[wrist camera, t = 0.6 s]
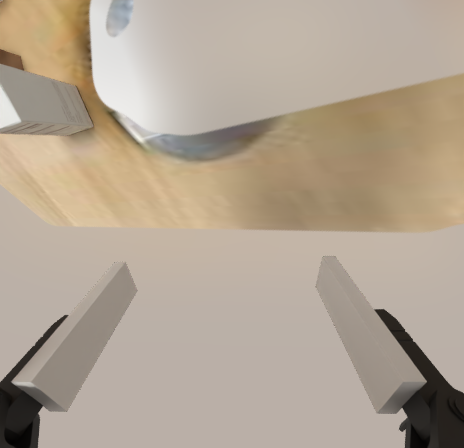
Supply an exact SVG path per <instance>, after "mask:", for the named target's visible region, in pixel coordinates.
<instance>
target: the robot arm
mask: <svg viewBox="0 0 464 448" xmlns="http://www.w3.org/2000/svg"><path fill="white" fill-rule="evenodd" d="M316 288H317V290H318V293H319V295H320V297H321V299H322V301H323V303H324V305H325V307H326V309H327V311H328V313H329V315H330V317H331V319H332V322H333V323H334V326H335V328H336V330H337V332H338V334H339V336H340V338H341V340H342V342H343V344H344V346H345V348H346V351H347V353H348V355H349V357H350V359H351V361H352V363H353V365H354V367H355V369H356V371H357V373H358V375H359V378H360V379H361V382H362V384H363V386H364V388H365V390H366V392H367V394H368V396H369V398H370V400H371V402H372V404H373V407H374V409H375V411H376V413H383V414H396V413H397V412H398V411H399V410H400V409H401V408H403V410H404V412H405V413H406V414H407V417H408V418H407V419H406V420H405V421H403V422H402V423H401V425H400V428H399V430H400V431H402V432H403V431H404V430H405V429H406V437H405V448H464V393H463V392H460V391H458V390H456V389H454V388H453V387H452V386H451V385H450V384H449V383H448V382H447V381H446V380H445V379H444V377H443V376H442V375H441V374H440V373H439V371H438V370H437V369H436V368H435V366H434V365H433V364H432V363H431V361H430V360H429V359H428V358H427V356H426V355H425V354H424V353H423V352H422V350H421V349H420V348H419V347H418V345H417V344H416V343H415V342H413V339H412V338H411V337H410V336H409V334H408V333H407V332H405V329H404V328H403V327H402V326H401V324H400V323H399V322H398V321H397V319H396V318H394V317H393V316H392V315H391V314H389V313H388V312H387V311H385V310H384V309H376V310H375V309H373V308H372V306H371V305H370V303H369V302H368V301H367V299H366V298H365V297H364V295H363V294H362V293H361V291H360V290H359V288H358V287H357V286H356V284H355V283H354V282H353V280H352V279H351V278H350V276H349V275H348V273H347V272H346V271H345V269H344V268H343V267H342V265H341V264H340V263H339V261H338V260H337V258H336V257H335V256H323V257H322V261H321V266H320V270H319V275H318V279H317V283H316ZM136 292H137V288H136V286H135V283H134V281H133V279H132V276H131V274H130V272H129V269H128V267H127V265H126V262H116V263H114V264H113V265H112V266H111V267H110V268H109V269H108V271H107V272H106V273H105V274H104V275H103V276H102V278H101V279H100V280H99V281H98V282H97V283H96V284H95V286H94V287H93V288H92V289H91V290H90V291H89V293H88V294H87V295H86V296H85V297H84V298H83V299H82V301H81V302H80V303H79V304H78V305H77V306H76V308H75V309H74V310H73V311H72V312H71V313H70V315H64V316H63V317H62V318H60V319H59V320H58V321H57V322H55V323H54V324H53V325H52V326H51V327H50V328H49V329H48V330H47V331H46V332H45V334H44V335H43V337H41V338H40V339H39V340H38V341H37V342H36V344H35V346H33V347H32V348H31V349H30V350H29V351H28V352H27V354H26V355H25V356H24V357H23V358H22V359H21V360H20V361H19V362H18V364H17V365H16V366H15V367H14V368H13V369H12V370H11V371H10V372H9V373H8V374H7V376H6V377H5V378H4V379H3V380H2V381H1V382H0V448H38V437H39V424H40V417H39V414H38V412H39V411H40V409H41V408H42V407H43V406H44V407H45V408H46V409H48V410H49V411H64V412H65V411H66V412H67V411H68V409H69V407H70V405H71V404H72V402H73V400H74V399H75V397H76V395H77V393H78V392H79V390H80V388H81V387H82V385H83V383H84V381H85V380H86V378H87V376H88V375H89V373H90V371H91V370H92V368H93V366H94V364H95V363H96V361H97V359H98V357H99V356H100V354H101V352H102V351H103V349H104V347H105V345H106V344H107V342H108V340H109V339H110V337H111V335H112V333H113V332H114V330H115V328H116V326H117V325H118V323H119V322H120V320H121V318H122V316H123V315H124V313H125V311H126V310H127V308H128V306H129V304H130V303H131V301H132V299H133V298H134V296H135V294H136Z"/></svg>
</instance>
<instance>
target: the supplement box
mask: <svg viewBox="0 0 464 448" xmlns="http://www.w3.org/2000/svg"><path fill="white" fill-rule="evenodd" d="M92 127H94V126H93V123H92V121H91V119H90V117H89V115H88V112H87V110H86V108H85V106H84V103H83V101H82V99H81V97H80V94H79V92H78V90H77V88H76V86H74V85H71V84H67V83H64V82H61V81H57V80H54V79H50V78H47V77H44V76H40V75H37V74H33V73H30V72H27V71H23V70H20V69H16V68H13V67H10V66H6V65H3V64H0V134H30V135H56V136H68V135H71V134H74V133H77V132H80V131H83V130H86V129H89V128H92Z"/></svg>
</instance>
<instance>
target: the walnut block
mask: <svg viewBox="0 0 464 448" xmlns="http://www.w3.org/2000/svg"><path fill="white" fill-rule="evenodd" d="M0 64H3V65H6V66H10V67H13V68H16V69H20V70H23V71H24V69H23V65H22V61H21V57H20V56H18V55H15V54H12V53H9V52H6V51H3V50H1V49H0Z"/></svg>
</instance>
